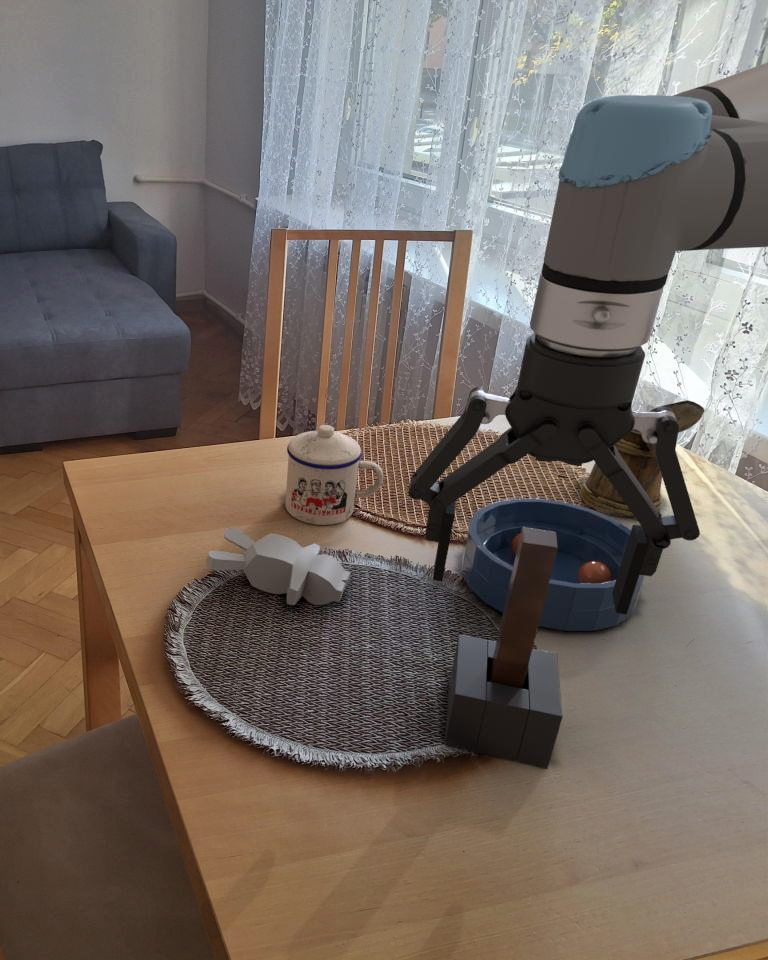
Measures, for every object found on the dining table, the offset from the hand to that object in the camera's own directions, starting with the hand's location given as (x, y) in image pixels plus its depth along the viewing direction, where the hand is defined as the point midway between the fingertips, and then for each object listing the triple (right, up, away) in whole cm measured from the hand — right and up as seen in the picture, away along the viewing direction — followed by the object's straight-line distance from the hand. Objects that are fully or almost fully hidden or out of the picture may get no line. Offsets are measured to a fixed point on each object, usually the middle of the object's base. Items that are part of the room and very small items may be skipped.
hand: (525, 587), depth 70 cm
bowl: (+14, -3, +25) cm, 29 cm away
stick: (+1, -13, +7) cm, 15 cm away
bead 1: (+13, +1, +28) cm, 31 cm away
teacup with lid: (-6, +5, +41) cm, 41 cm away
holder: (+1, -13, +7) cm, 15 cm away
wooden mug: (+30, +5, +38) cm, 49 cm away
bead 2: (+18, -2, +23) cm, 29 cm away
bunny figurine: (-16, -3, +27) cm, 31 cm away
